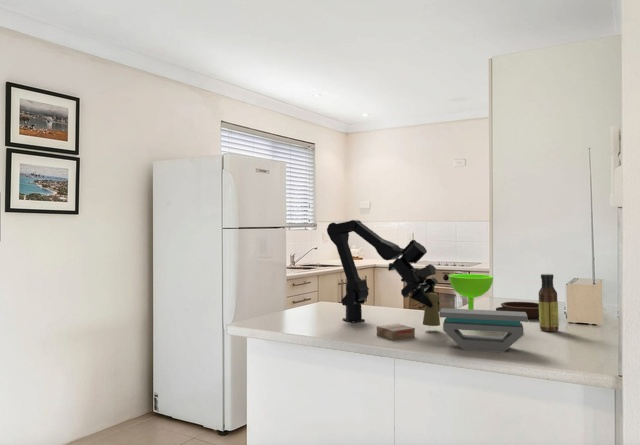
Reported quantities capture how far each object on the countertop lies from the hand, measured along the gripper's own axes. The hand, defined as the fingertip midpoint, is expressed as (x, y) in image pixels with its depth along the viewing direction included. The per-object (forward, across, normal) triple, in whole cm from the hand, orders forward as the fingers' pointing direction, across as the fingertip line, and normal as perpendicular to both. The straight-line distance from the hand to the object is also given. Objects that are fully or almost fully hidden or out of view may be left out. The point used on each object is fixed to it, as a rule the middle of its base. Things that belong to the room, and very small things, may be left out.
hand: (435, 305), depth 182 cm
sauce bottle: (+28, +25, -16) cm, 41 cm away
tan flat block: (+1, -15, +12) cm, 19 cm away
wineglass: (+10, +20, +3) cm, 23 cm away
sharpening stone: (+22, -13, -9) cm, 27 cm away
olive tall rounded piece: (+4, 0, +6) cm, 7 cm away
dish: (+18, +49, -5) cm, 53 cm away
